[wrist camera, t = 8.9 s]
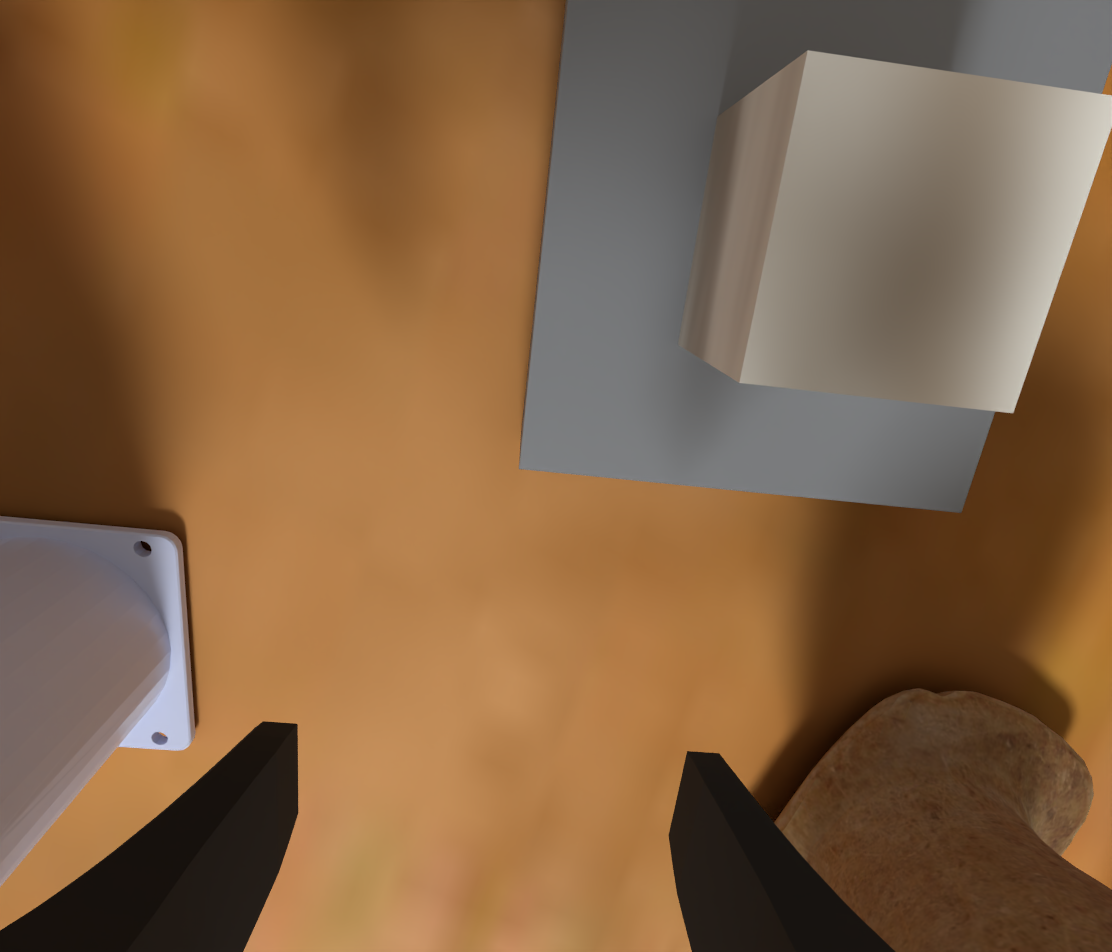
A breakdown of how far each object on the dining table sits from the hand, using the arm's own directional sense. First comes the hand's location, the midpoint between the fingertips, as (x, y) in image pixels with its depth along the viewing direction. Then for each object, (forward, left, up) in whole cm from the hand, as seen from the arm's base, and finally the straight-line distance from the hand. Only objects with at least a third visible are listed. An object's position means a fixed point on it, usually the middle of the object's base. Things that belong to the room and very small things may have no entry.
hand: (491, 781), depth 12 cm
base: (+6, +10, -9) cm, 15 cm away
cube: (+6, +10, -6) cm, 13 cm away
